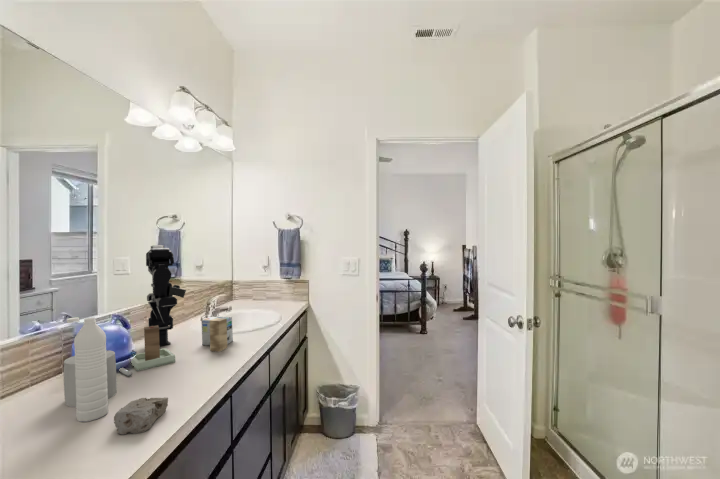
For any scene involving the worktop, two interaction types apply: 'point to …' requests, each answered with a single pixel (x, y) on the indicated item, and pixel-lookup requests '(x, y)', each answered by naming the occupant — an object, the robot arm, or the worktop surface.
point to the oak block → (218, 334)
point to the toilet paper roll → (70, 378)
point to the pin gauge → (125, 372)
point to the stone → (139, 415)
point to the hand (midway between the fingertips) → (162, 321)
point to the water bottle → (90, 371)
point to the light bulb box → (207, 330)
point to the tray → (153, 360)
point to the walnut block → (151, 342)
